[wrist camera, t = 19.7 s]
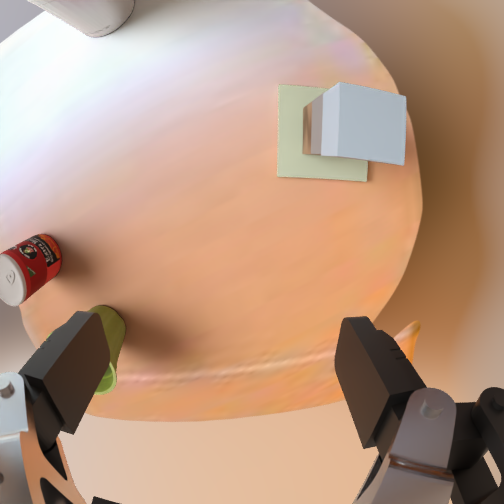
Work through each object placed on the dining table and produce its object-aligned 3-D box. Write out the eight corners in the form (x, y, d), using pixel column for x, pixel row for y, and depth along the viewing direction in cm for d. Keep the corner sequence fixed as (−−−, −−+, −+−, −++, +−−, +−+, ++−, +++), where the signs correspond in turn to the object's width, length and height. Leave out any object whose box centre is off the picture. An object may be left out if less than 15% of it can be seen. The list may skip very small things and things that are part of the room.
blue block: (323, 93, 23) (339, 81, 19) (381, 103, 24) (406, 96, 19) (320, 155, 25) (337, 156, 21) (378, 162, 26) (404, 165, 21)
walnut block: (303, 108, 33) (311, 101, 28) (348, 112, 33) (362, 107, 28) (302, 154, 35) (311, 154, 30) (347, 157, 35) (361, 158, 30)
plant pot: (67, 298, 42) (32, 333, 31) (121, 286, 41) (90, 325, 30) (96, 354, 46) (71, 395, 35) (150, 348, 45) (130, 394, 34)
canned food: (69, 250, 39) (29, 278, 29) (54, 286, 41) (18, 317, 31) (38, 223, 37) (-6, 243, 27) (25, 259, 39) (-14, 284, 29)
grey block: (312, 101, 28) (323, 92, 23) (362, 108, 28) (381, 101, 24) (310, 153, 30) (322, 153, 25) (361, 158, 30) (380, 160, 25)
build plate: (278, 86, 33) (279, 84, 32) (365, 96, 33) (368, 94, 32) (277, 176, 37) (277, 176, 36) (363, 181, 37) (366, 181, 36)
